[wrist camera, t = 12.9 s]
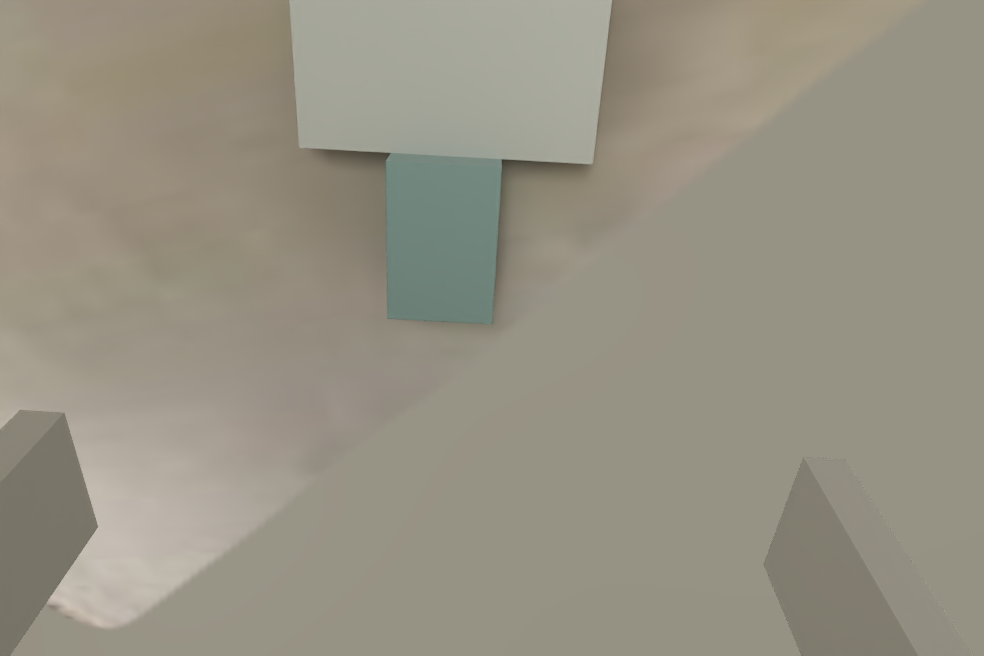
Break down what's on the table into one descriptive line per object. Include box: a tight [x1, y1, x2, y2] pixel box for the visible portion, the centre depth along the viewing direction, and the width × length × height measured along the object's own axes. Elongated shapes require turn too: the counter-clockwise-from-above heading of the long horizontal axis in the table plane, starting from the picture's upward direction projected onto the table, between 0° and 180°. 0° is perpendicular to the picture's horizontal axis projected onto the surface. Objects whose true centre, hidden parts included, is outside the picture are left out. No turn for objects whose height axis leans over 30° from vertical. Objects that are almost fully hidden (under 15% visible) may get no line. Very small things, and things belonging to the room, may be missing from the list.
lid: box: [289, 0, 612, 324], centre depth 23 cm, size 22×11×4 cm, turn 177°
